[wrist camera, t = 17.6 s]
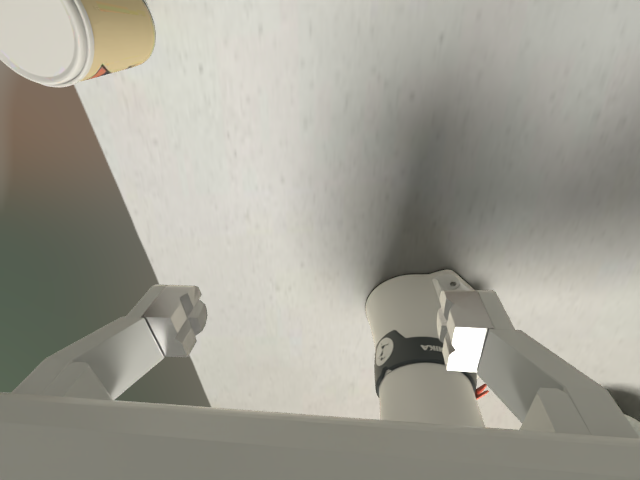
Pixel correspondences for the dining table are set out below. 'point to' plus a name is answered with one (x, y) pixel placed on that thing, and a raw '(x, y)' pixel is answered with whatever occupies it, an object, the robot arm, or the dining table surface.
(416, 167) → the dining table surface
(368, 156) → the dining table surface
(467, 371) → the robot arm
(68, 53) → the coffee cup
